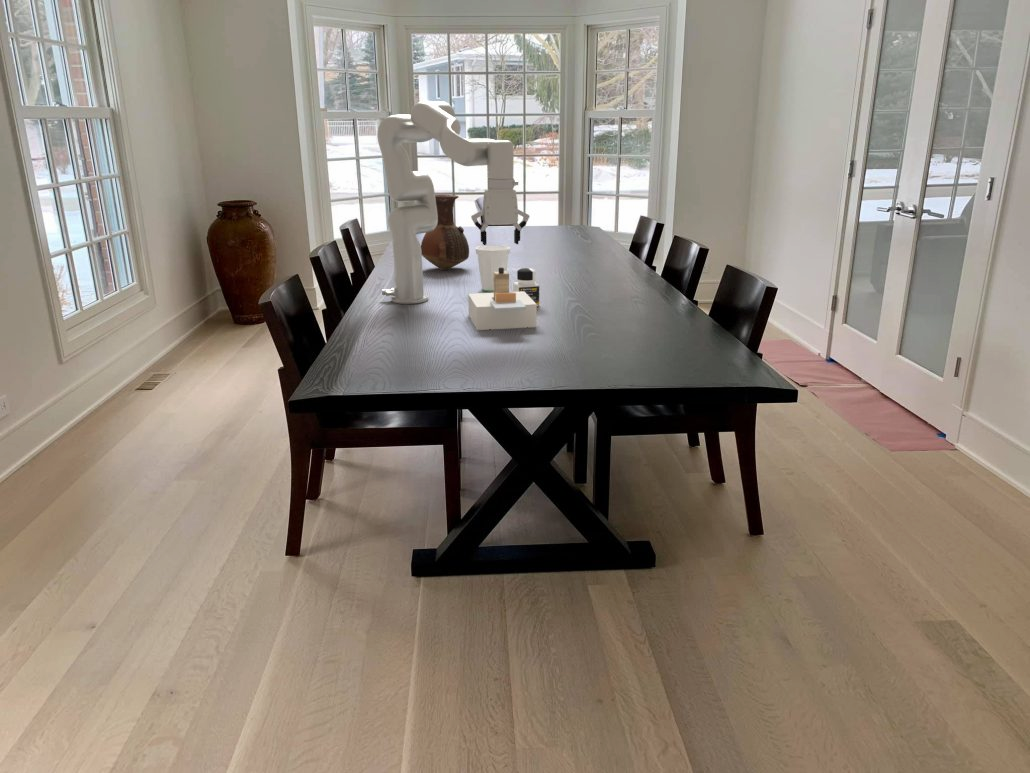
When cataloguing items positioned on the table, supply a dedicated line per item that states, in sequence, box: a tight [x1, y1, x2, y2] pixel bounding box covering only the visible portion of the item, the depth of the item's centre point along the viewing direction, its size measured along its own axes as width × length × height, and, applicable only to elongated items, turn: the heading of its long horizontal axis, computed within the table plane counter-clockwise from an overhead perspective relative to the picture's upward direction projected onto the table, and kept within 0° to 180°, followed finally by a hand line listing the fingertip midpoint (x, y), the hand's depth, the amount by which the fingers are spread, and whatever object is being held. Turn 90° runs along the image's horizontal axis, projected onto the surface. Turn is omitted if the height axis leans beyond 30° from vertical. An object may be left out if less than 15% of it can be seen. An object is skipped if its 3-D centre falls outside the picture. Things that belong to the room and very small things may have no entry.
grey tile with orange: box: [490, 291, 526, 311], centre depth 219 cm, size 9×9×3 cm
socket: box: [467, 291, 538, 331], centre depth 231 cm, size 18×18×7 cm
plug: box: [493, 267, 510, 301], centre depth 229 cm, size 4×4×14 cm
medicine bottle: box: [512, 267, 540, 306], centre depth 250 cm, size 7×7×12 cm
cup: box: [475, 244, 511, 293], centre depth 272 cm, size 12×12×15 cm
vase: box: [420, 194, 470, 271], centre depth 306 cm, size 25×20×30 cm
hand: (500, 243), depth 224 cm, fingers open, 9 cm apart
